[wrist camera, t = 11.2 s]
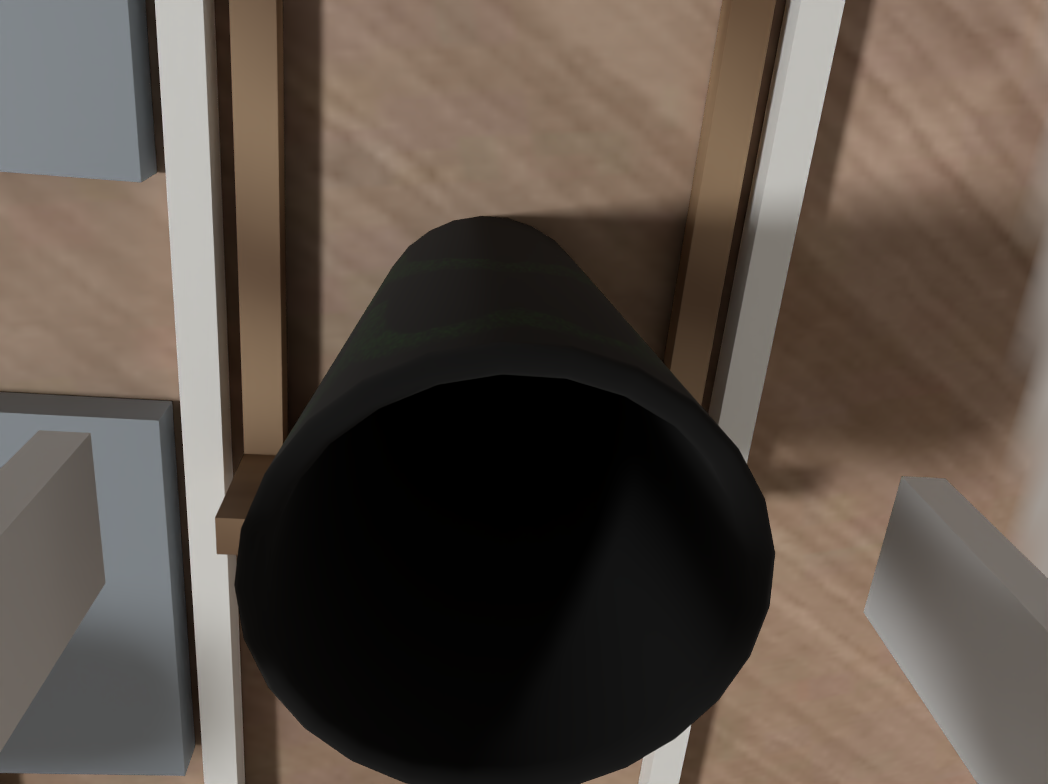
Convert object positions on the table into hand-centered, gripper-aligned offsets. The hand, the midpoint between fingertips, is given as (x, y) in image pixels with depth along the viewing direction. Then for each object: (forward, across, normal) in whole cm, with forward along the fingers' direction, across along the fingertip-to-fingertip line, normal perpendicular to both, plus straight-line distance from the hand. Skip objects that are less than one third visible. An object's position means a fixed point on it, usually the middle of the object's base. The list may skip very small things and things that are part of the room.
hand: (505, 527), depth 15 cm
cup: (+10, 0, 0) cm, 10 cm away
